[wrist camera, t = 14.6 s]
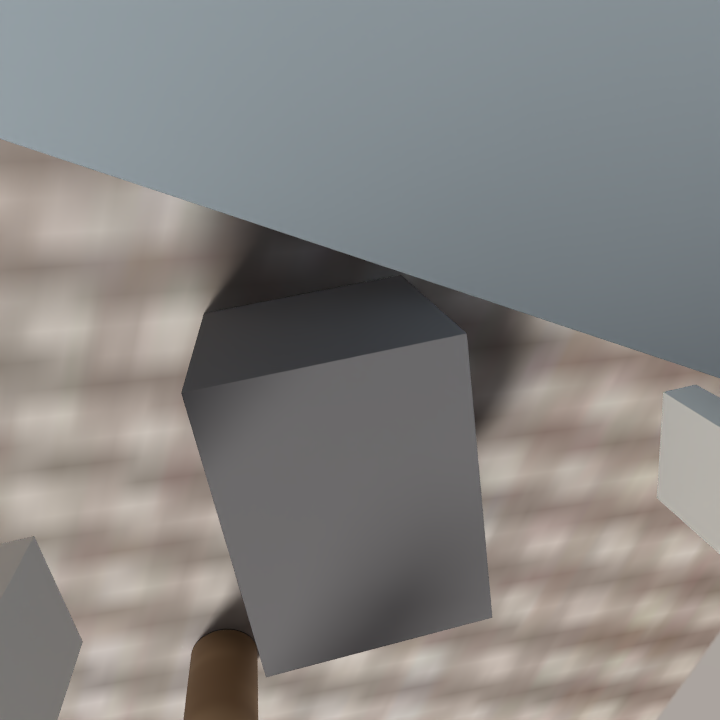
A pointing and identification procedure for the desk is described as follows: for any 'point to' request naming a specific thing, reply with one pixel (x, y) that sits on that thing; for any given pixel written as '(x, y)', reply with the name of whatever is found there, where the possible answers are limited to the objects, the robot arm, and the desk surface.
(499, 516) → the desk surface
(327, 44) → the door
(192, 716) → the door frame
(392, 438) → the block
